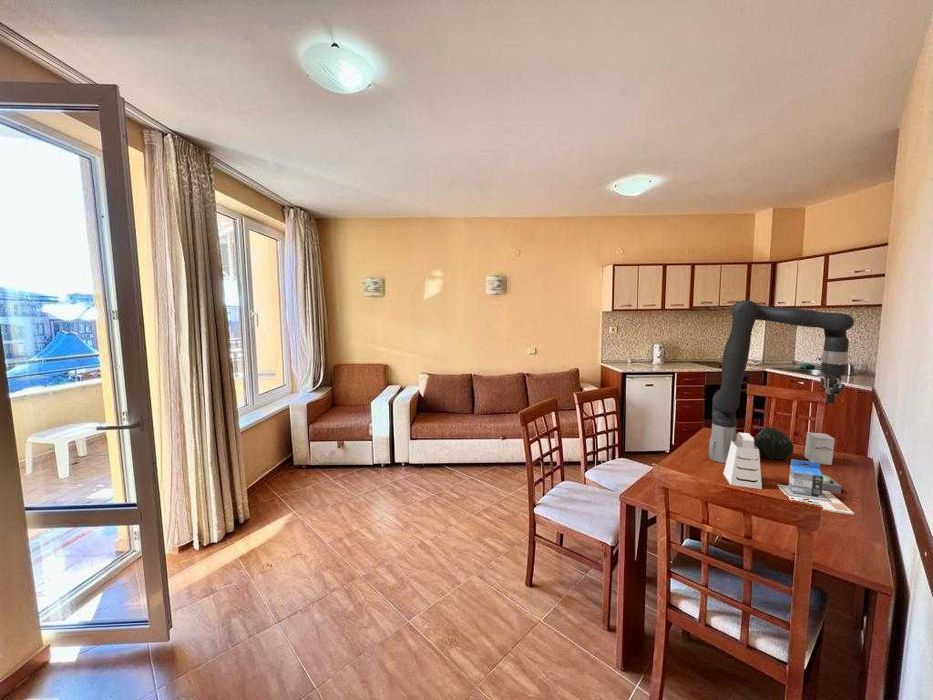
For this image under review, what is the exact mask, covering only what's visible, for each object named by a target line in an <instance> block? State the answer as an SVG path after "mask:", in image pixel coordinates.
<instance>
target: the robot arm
mask: <svg viewBox="0 0 933 700" xmlns="http://www.w3.org/2000/svg"><path fill="white" fill-rule="evenodd" d="M730 315H731V316H732V323H731V324H732V325H731V330H730V333H729V335H728V339H727V341H726V343H725V346H724V349H723V353H722V360H721V384H720V388H719V390H718V391H716V392H714V395H713V397H712V403H711V405H712V406H711V408H712V409H711V418H712V419H711V420H712V421H711V423H712V424H711V435H710V436H709V445H708V446H709V448H708V457H709V458H710V460H711V461H713V462H714V461H715V462H716V463H717V462H718V463H721V464H726V461H727V457H728V453H729V449H730V445H731V441H736V436H737V417H736V410H738V409H739V406H740V403H741V402H740V401H741V389H742V383H743V380H744V376H745V372H746V369H747V364H748V359H749V356H750V348H751V338H752V331H753V328H754V324H755V322H756V321H767V322H774V323H780V324H784V325H785V324H786V325H791V326H797V327H798V326H799V327H806V328H817V329H818V328H819V329H823V330H824V331H823V332H824V333H823V334H824V344H823V351H822V355H821V363H820V373H822V374H823V378H822V377H821V378H820V379H819V380H820V385H821V387H822V391H823V392H824V393H825V394H826V395H825V403H827V404H835V399H836V396H837V395H840V393H842V391H843V389H844V388H845V383H842V376H843V375H844V376H845V375H846V374H847V371H848V362H849V346H850V345H849V344H850V342H849V339H848V337H847V330H850V329H851V328H852V327H853V326H854V324H855V319H854V318H853V316H851V315H849V314H846V313H841V312H840V313H837V312H826V311H825V312H823V311H819V310H812V309H811V310H810V309H803V308H791V307H778V306H777V307H775V306H767V305H762V304H757V303H756V302H754V301H752V300H747V299H746V300H739V301H737V302H736V303H734V304H733V305H732V306H731V309H730Z"/></svg>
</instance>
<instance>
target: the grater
mask: <svg viewBox="0 0 933 700" xmlns="http://www.w3.org/2000/svg"><path fill="white" fill-rule="evenodd" d="M760 457H761V455H760V454H759V449H758V448H757V447H756V446H755V445H754V437H753V436H752V435H751V433H748V432H737V433H736V440H735V441H731V445H730V449H729V453H728V457H727V461H726V463H725V464H724V465H725V466H724V470H723V476H724V477H725V478H726V480H727V482H728V484H729V485H731V486H737V487H744V488H751V489H758V490H763V487H762V486H763V484H762V473H761V472H762V471H761V458H760ZM753 481H754V482H753Z"/></svg>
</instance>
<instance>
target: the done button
mask: <svg viewBox="0 0 933 700" xmlns="http://www.w3.org/2000/svg"><path fill="white" fill-rule="evenodd" d="M822 475H823V483H830V480H831V478H832V477H831V476H828V475H827V474H823V473H822ZM830 477H831V478H830Z"/></svg>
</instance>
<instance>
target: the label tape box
mask: <svg viewBox="0 0 933 700" xmlns="http://www.w3.org/2000/svg"><path fill="white" fill-rule="evenodd" d="M804 464H806V465H804ZM820 466H821V464H820V463H816V462H810V461H809V460H798V459H791V460H790V466H789V476H788V477H789V479H788V486H789V488H788V489H789V490H790V491H791V492H792V493H797V494H803V495H810V496H816V497H822V487H823V475H824V474H823V473H822V471H821V470H820ZM822 474H823V475H822Z"/></svg>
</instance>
